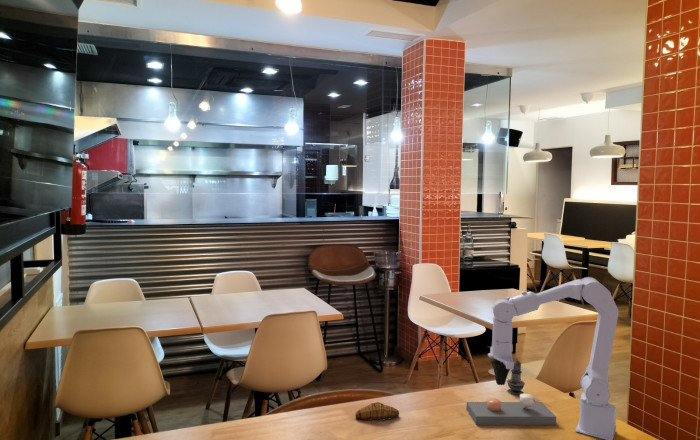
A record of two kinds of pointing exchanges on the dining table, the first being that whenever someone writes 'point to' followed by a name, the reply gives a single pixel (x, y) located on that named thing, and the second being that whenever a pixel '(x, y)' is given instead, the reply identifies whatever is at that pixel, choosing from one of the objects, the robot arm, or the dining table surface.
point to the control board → (511, 414)
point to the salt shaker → (516, 380)
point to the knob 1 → (494, 405)
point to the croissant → (376, 412)
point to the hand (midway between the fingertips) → (500, 384)
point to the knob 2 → (526, 400)
